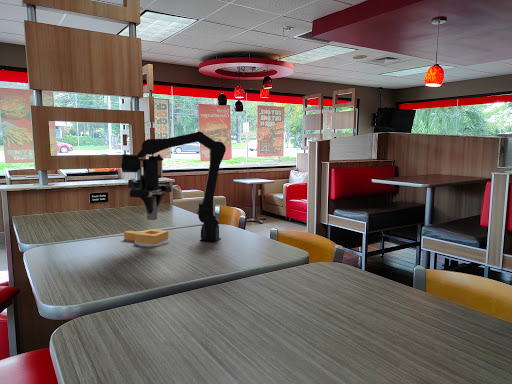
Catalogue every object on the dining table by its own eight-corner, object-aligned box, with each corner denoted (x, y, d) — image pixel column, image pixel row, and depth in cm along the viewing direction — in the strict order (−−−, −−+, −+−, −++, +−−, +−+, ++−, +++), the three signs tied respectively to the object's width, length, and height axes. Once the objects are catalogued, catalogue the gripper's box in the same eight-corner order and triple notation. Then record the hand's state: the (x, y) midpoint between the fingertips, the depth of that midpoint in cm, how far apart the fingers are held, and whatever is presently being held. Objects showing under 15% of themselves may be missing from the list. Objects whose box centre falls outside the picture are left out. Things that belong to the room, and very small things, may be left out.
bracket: (176, 239, 149) (175, 230, 148) (156, 248, 137) (156, 238, 136) (137, 235, 155) (137, 226, 155) (115, 242, 143) (114, 232, 143)
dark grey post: (157, 219, 144) (156, 196, 143) (153, 220, 142) (152, 196, 141) (150, 218, 145) (150, 195, 144) (146, 219, 143) (146, 196, 142)
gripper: (148, 170, 153) (149, 207, 155) (116, 173, 135) (118, 215, 138) (171, 171, 149) (172, 209, 151) (141, 174, 132) (143, 218, 134)
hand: (151, 212), depth 143 cm, fingers closed on dark grey post, 2 cm apart
